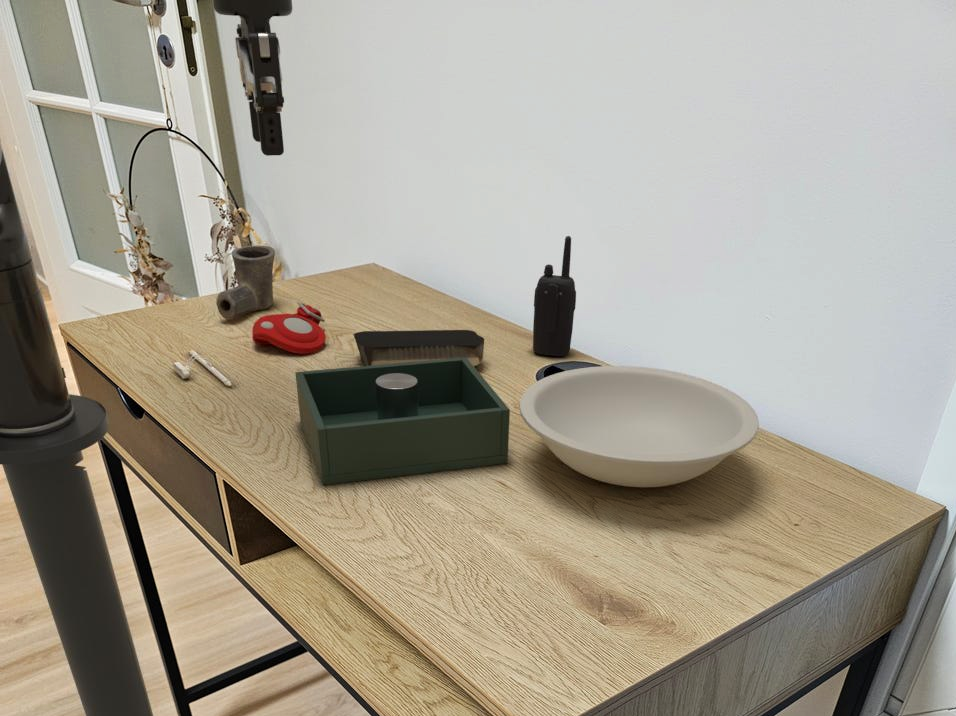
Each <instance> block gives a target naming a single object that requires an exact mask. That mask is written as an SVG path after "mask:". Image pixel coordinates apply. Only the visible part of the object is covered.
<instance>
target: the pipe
mask: <svg viewBox="0 0 956 716" xmlns="http://www.w3.org/2000/svg"><path fill="white" fill-rule="evenodd" d="M230 254H231V256H232V260H233V265H234V270H235V275H236V282H237V286H236V287H233V288H230V289H226V290H223V291H220V292H219V293H218V294H217V296H216V302H215V303H216V307H217V309H218V313H219V315H220V316H221V317H222V318H223V319H227V320H233V319H236V318H239V317H242V316H243V315H246V314H248V313H251V312H254V311H261V310H266V309H268V308H270V307H271V306H272V305H273V302H274V287H273V275H274V274H273V273H274V262H275V256H276V250H275V248H273V247H271V246H270V245H269V246H268V245H260V244H259V245H245V246H241V247H238V248H234V249H233V250H232V251H231V253H230Z"/></svg>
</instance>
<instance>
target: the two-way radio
mask: <svg viewBox="0 0 956 716" xmlns="http://www.w3.org/2000/svg"><path fill="white" fill-rule="evenodd" d="M571 253H572V237H571V236H570V235H566V236H565V238H564V245H563V253H562V254H563V255H562V263H561V275H555V274H554V266H553V265H552V264H546V265H545V266H544V269H543V275H541V277H539V279H538V281H537V283H536V287H535V288H534V296H533V298H534V299H533V309H534V310H533V329H532V351H533V352H535V353H536V354H537V355H545V356H554V357H561V358H562V357H564V356H568V355H569V354H570V351H571V344H572V343H571V342H572V335H573V329H574V328H573V327H574V318H575V317H574V316H575V310H576V305H577V291H576V285H575V284H576V283H575V280H574V278H573V277H572V276H570V270H571V258H572V257H571V255H572V254H571Z"/></svg>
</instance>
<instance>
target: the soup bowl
mask: <svg viewBox="0 0 956 716" xmlns="http://www.w3.org/2000/svg"><path fill="white" fill-rule="evenodd" d="M518 408H519V414H520V416H521V418H522V420H523V421H524V423H525V424H526V425H527V426H528V428H529V429H530V430H532V431H533V432H534V433H535V434H537V435H538V436H540V437H541V440H542V441H543V442H544V443H545V445H546V446H547V448H548V449H549V450H550V451H551V452H552V453H553V454H554V456H555V457H557V459H559V460H560V461H561V462H562V463H564V464H565V465H567V466H568V467H570V468H571V469H572V470H574V471H576V472H577V473H579V474H582V475H584V476H586V477H588V478H591V479H593V480H596V481H599V482H602V483H606V484H610V485H615V486H622V487H631V488H658V487H659V488H660V487H667V486H672V485H676V484H680V483H683V482H687V481H690V480H692V479H695V478H697V477H699V476H701V475H703V474H705V473H707V472H709V471H710V470H712V469H713V468H714V467H716V466H717V465H718V464H720V462H722V461H723V460H725V458H727V457H728V456H731V455H734V454H736V453H737V452H740V451H741V450H743V449H745V448H746V447H748V445H750V444H751V443H752V442H753V440H754V439H755V438H756V436H757V434H758V432H759V427H760V420H759V417H758V415H757V412H756V410H755V409H754V408H753V406H752V405H750V403H748V401H747V400H746V399H744V398H743V397H741V396H740V395H738V394H737V393H735V392H733V391H732V390H730V389H729V388H726V387H724V386H722V385H720V384H717V383H714V382H712V381H709V380H706V379H704V378H701V377H697V376H693V375H691V374H686V373H682V372H677V371H672V370H667V369H661V368H655V367H645V366H632V365H601V366H600V365H599V366H589V367H582V368H581V367H579V368H574V369H569V370H564V371H561V372H557V373H554V374H551V375H548V376H546V377H545V376H544V377H543V378H541V379H539V380H537V381H535V382H534V383H532V384H531V385H530V386H529V387H527V388H526V390H525V391H523V393H522V395H521V396H520V400H519V405H518Z"/></svg>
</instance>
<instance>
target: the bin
mask: <svg viewBox="0 0 956 716" xmlns="http://www.w3.org/2000/svg"><path fill="white" fill-rule="evenodd" d="M392 373H402V374H408V375H411V376H414V377H415V378H416V379H417V381H418V416H413V417H404V418H394V419H384V420H378V419H377V399H376V379H377V378H378V377H380V376H382V375H386V374H392ZM295 383H296V391H297V392H296V394H297V402H298V410H299V411H298V412H299V420H300V424H301V428H302V431H303V433H304V436H305V439H306V442H307V445H308V447H309V450H310V454H311V456H312V459H313V462H314V465H315V467H316V469H317V472H318V473H317V474H318V475H319V479H320V482H321V484H322V486H327V485H336V484H345V483H352V482H354V483H355V482H361V481H362V482H363V481H370V480H377V479H385V478H386V479H387V478H395V477H404V476H411V475H421V474H427V473H436V472H437V473H438V472H446V471H453V470H461V469H472V468H479V467H486V466H487V467H488V466H495V465H496V466H497V465H503V464H508V461H509V455H508V454H509V440H510V439H509V436H510V415H511V410H510V407H508V406H507V404H506V403H505V402H504V401H503V399H502V398H501V397H500V396H499V395H498V394H497V392H496V390H494V389H493V387H491V385H490V384H489V382H487V380H486V379H485V378H484V377H483V376H482V375H481V373H480V372H479V370H477V368H476V367H475V366H473V365H472V364H471V362H470V361H469V360H468V359H467V358H466V357H464V358H452V359H441V360H429V361H418V362H406V363H395V364H383V365H371V366H366V365H362V366H350V367H338V368H337V367H336V368H328V369H327V368H326V369H316V370H305V371H304V370H303V371H295Z"/></svg>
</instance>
